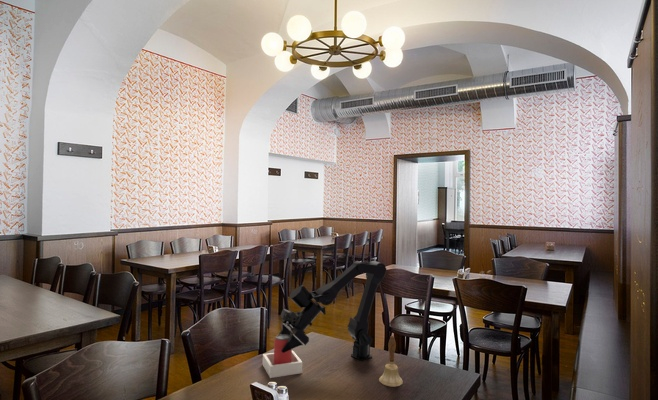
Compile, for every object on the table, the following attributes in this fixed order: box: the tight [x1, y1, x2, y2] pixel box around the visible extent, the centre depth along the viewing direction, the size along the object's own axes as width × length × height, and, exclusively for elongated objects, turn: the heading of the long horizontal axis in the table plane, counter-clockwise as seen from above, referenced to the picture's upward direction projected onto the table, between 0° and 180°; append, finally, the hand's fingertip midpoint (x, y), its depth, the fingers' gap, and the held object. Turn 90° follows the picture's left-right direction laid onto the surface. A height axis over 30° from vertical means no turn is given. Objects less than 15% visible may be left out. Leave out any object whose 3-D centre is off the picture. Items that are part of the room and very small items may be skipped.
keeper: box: [262, 349, 303, 379], centre depth 143 cm, size 12×12×4 cm
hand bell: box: [378, 335, 404, 388], centre depth 135 cm, size 8×8×16 cm
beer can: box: [273, 334, 293, 365], centre depth 144 cm, size 7×7×12 cm
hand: (278, 347), depth 143 cm, fingers open, 8 cm apart
